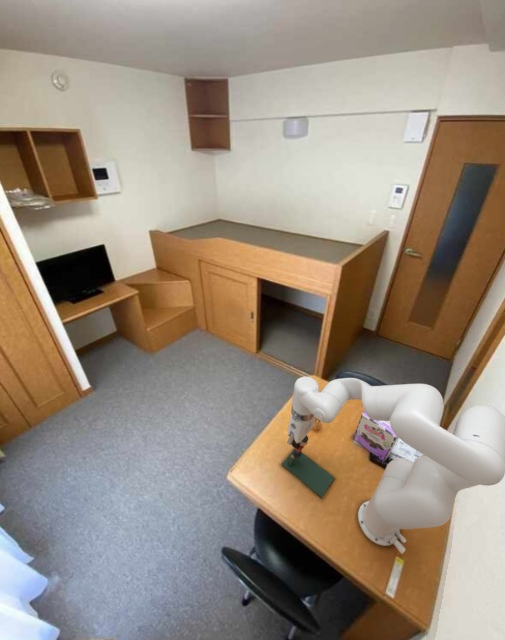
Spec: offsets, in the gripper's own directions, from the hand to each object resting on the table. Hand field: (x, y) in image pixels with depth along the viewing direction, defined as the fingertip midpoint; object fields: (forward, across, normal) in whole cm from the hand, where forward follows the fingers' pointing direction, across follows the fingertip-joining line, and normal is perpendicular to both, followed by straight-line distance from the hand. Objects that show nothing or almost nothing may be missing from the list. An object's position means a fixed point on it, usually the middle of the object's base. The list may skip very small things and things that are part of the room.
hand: (297, 442), depth 102 cm
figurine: (+13, +18, +2) cm, 22 cm away
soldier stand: (+13, 0, -6) cm, 14 cm away
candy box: (+13, +27, -19) cm, 35 cm away
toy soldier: (+2, 0, -2) cm, 3 cm away
